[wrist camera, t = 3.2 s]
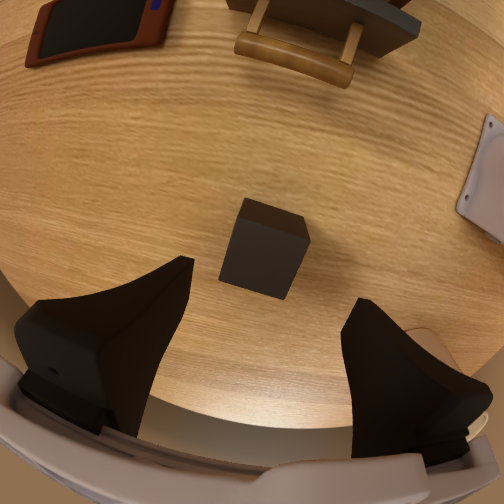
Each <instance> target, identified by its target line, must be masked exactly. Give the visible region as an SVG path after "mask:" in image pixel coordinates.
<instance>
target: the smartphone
mask: <svg viewBox="0 0 504 504" xmlns="http://www.w3.org/2000/svg"><path fill="white" fill-rule="evenodd" d="M173 2H174V0H53V1H51V2H49V3H47V4H45V5H43V6H42V7H41V8H40V10H39V13H38V16H37V19H36V22H35V26H34V29H33V32H32V36H31V40H30V43H29V47H28V52H27V56H26V60H25V67H26V68H30V67H34V66H38V65H41V64H45V63H49V62H52V61H56V60H60V59H65V58H69V57H74V56H79V55H84V54H89V53H95V52H102V51H109V50H117V49H126V48H137V47H148V46H158V45H160V44H161V43H162V41H163V38H164V35H165V31H166V27H167V23H168V19H169V15H170V12H171V8H172V5H173Z"/></svg>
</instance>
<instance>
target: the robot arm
mask: <svg viewBox="0 0 504 504" xmlns="http://www.w3.org/2000/svg"><path fill="white" fill-rule="evenodd" d="M489 123H490V127H489ZM466 195H467V197H466V199H465V196H466ZM456 210H457V212H458V213H459V214H461V215H463V216H464V217H466V218H467V219H469V220H470V221H472V222H473V223H475V224H476V225H478V226H479V227H481V228H482V229H484V230H485V233H484V235H485V236H487V237H488V238H490V239H491V240H492V241H494V242H495V243H496V244H498V245H500V243H501V242H502V243H503V244H504V126H503V125H502V124H501V123H500V122H499V121H498V120H497V119H496V118H495V117H494V116H493V115H491V114H488V115H487V116H486V120H485V124H484V128H483V131H482V135H481V139H480V142H479V145H478V149H477V152H476V155H475V158H474V161H473V164H472V167H471V170H470V173H469V175H468V178H467V181H466V183H465V186H464V189H463V191H462V194H461V196H460V198H459V201H458V203H457V206H456ZM194 260H195V259H193V258H189V257H185V256H181V255H180V256H179V257H177V258H175V259H173V260H172V261H170V262H168V263H166V264H165V265H163V266H161V267H159V268H158V269H156V270H154V271H152V272H150V273H148V274H146V275H144V276H142V277H140V278H138V279H136V280H134V281H131V282H129V283H126V284H124V285H121V286H118V287H115V288H112V289H109V290H105V291H101V292H98V293H94V294H90V295H84V296H79V297H72V298H64V299H48V300H38V301H37V302H36V303H35V304H34V305H33V306H32V307H31V308H30V309H29V310H28V311H27V312H26V313H25V314H24V315H23V316H22V317H21V318H20V319H19V320H18V321H17V322H16V324H15V327H14V332H15V338H16V341H17V344H18V347H19V349H20V351H21V353H22V356H23V358H24V360H25V362H26V364H27V366H28V370H27V371H26V373H25V374H24V375H23V373H22V372H21V371H20V370H19V369H18V368H17V367H16V366H14V365H13V364H11V363H10V362H8V361H7V360H6V359H4V358H3V357H2V356H0V443H1V444H3V445H4V446H5V447H6V448H8V449H9V450H10V451H12V452H13V453H14V454H16V455H17V456H18V457H20V458H21V459H22V460H24V461H25V462H26V463H28V464H29V465H31V466H32V467H34V468H35V469H36V470H38V471H39V472H41V473H43V474H44V475H46V476H47V477H49V478H51V479H52V480H54V481H55V482H57V483H59V484H60V485H62V486H64V487H66V488H67V489H69V490H71V491H73V492H75V493H77V494H78V495H80V496H82V497H84V498H86V499H88V500H90V501H92V502H94V503H97V504H455V503H457V502H459V501H461V500H463V499H465V498H467V497H469V496H470V495H472V494H474V493H476V492H477V491H479V490H481V489H482V488H483V487H485V486H487V485H488V484H490V483H492V482H493V481H495V480H496V479H498V478H499V477H500V476H501V473H500V470H499V467H498V464H497V461H496V458H495V456H494V453H493V450H492V447H491V444H490V442H489V440H488V437H487V435H484V436H480V437H477V438H474V439H472V440H470V441H468V442H467V440H466V436H468V435H469V433H470V432H469V430H468V427H469V426H470V425H471V424H472V423H473V422H474V421H475V420H476V419H478V418H479V417H480V416H481V415H482V414H483V413H484V412H485V411H486V409H487V408H488V407H489V406H490V404H491V402H492V399H493V394H492V392H491V390H490V389H489V387H488V386H487V385H486V384H485V383H482V382H480V381H478V380H475V379H473V378H471V377H468V376H466V375H464V374H462V373H461V372H459V371H457V370H455V369H453V368H451V367H450V366H448V365H446V364H445V363H443V362H442V361H440V360H439V359H437V358H436V357H434V356H433V355H432V354H430V353H429V352H428V351H426V350H425V349H424V348H423V347H421V346H420V345H419V344H418V343H417V342H415V341H414V340H413V339H412V338H411V337H410V336H409V335H408V334H407V333H405V332H404V331H403V330H402V329H401V328H400V327H399V326H398V325H397V324H396V323H395V322H394V321H393V320H392V319H391V318H390V317H389V316H388V315H387V314H386V313H385V312H384V311H383V310H382V309H381V308H379V307H378V306H377V305H376V304H375V303H374V302H372V301H371V300H368V299H363V298H359V297H358V299H357V301H356V303H355V305H354V307H353V309H352V311H351V313H350V315H349V317H348V319H347V321H346V323H345V325H344V326H343V328H342V330H341V347H342V354H343V359H344V364H345V368H346V373H347V378H348V382H349V387H350V392H351V399H352V414H353V440H352V455H351V459H319V460H301V461H295V462H290V463H286V464H279V465H277V466H275V467H273V468H272V467H262V466H253V465H245V464H238V463H232V462H226V461H220V460H215V459H210V458H205V457H201V456H196V455H192V454H188V453H184V452H180V451H176V450H173V449H169V448H165V447H162V446H159V445H156V444H153V443H149V442H146V441H144V440H141V439H138V438H137V435H138V431H139V427H140V423H141V419H142V416H143V413H144V409H145V406H146V402H147V399H148V396H149V393H150V390H151V387H152V384H153V381H154V378H155V375H156V372H157V369H158V366H159V364H160V361H161V359H162V357H163V355H164V353H165V351H166V349H167V347H168V345H169V343H170V341H171V339H172V337H173V335H174V333H175V331H176V329H177V327H178V325H179V323H180V321H181V319H182V317H183V314H184V311H185V309H186V306H187V303H188V300H189V294H190V287H191V280H192V273H193V266H194Z"/></svg>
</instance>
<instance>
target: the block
mask: <svg viewBox="0 0 504 504" xmlns="http://www.w3.org/2000/svg"><path fill="white" fill-rule="evenodd" d="M309 244H310V237H309V234H308V231H307V227H306V224H305V221H304V218H303V217H302V216H299V215H296V214H293V213H291V212H288V211H285V210H282V209H279V208H276V207H273V206H270V205H267V204H264V203H261V202H257V201H254V200H251V199H248V198H244V201H243V203H242V206H241V209H240V211H239V214H238V216H237V219H236V222H235V226H234V229H233V232H232V235H231V239H230V242H229V245H228V248H227V252H226V255H225V258H224V262H223V265H222V268H221V272H220V275H219V278H218V280H219V281H222V282H225V283H228V284H232V285H235V286H238V287H241V288H245V289H248V290H251V291H254V292H258V293H261V294H264V295H268V296H271V297H275V298H278V299H282V300H284V299H285V297H286V295H287V293H288V291H289V289H290V287H291V284H292V282H293V280H294V278H295V276H296V273H297V271H298V269H299V267H300V264H301V262H302V260H303V258H304V255H305V253H306V251H307V248H308V246H309Z"/></svg>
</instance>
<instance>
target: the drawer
mask: <svg viewBox="0 0 504 504" xmlns="http://www.w3.org/2000/svg"><path fill="white" fill-rule="evenodd" d="M410 1H411V0H226V2H227V5H228V7H229V9H230V10H236V11H241V12H246V13H251V14H252V16H251V19H250V21H249V24H248V26H247V29H246V32H244V31H243V32H240V34H239V35H238V37H237V40H236V43H235V47H234V53H235V54H236V55H241V56H245V57H249V58H253V59H257V60H261V61H265V62H268V63H272V64H275V65H278V66H282V67H285V68H288V69H291V70H294V71H297V72H300V73H303V74H306V75H309V76H312V77H314V78H317V79H320V80H322V81H325V82H327V83H330V84H332V85H335V86H337V87H340V88H342V89H346V88H347V87H348V86H349V84H350V83H351V80H352V78H353V75H354V68H353V67H352V66H350V65H351V64H352V61H353V58H354V55H355V52H356V49H357V48H359V49H361V50H363V51H365V52H367V53H369V54H371V55H373V56H375V57H377V58H381V57H383V56H384V55H386V54H388V53H390V52H392V51H393V50H395V49H397V48H399V47H401V46H403V45H405V44H407V43H408V42H410V41H412V40H414V39H416V38H418V36H419V31H420V27H421V21H419V20H418V19H416V18H414V17H413V16H411V15H409V14H408V13H406V12H404V11H402V10H400V9H401V8H402V7H403V6H405V5H406V4H407V3H408V2H410ZM265 17H269V18H273V19H277V20H281V21H284V22H288V23H291V24H295V25H298V26H301V27H304V28H307V29H310V30H313V31H316V32H319V33H322V34H324V35H327V36H330V37H332V38H335V39H337V40H340V41H342V42H345V44H344V47H343V50H342V53H341V56H340V59H339V61H338V60H335V59H333V58H330V57H327V56H325V55H322V54H320V53H317V52H314V51H311V50H308V49H305V48H302V47H299V46H296V45H293V44H290V43H287V42H283V41H280V40H276V39H273V38H269V37H265V36H261V35H258V34H259V31H260V28H261V26H262V23H263V21H264V18H265Z"/></svg>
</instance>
